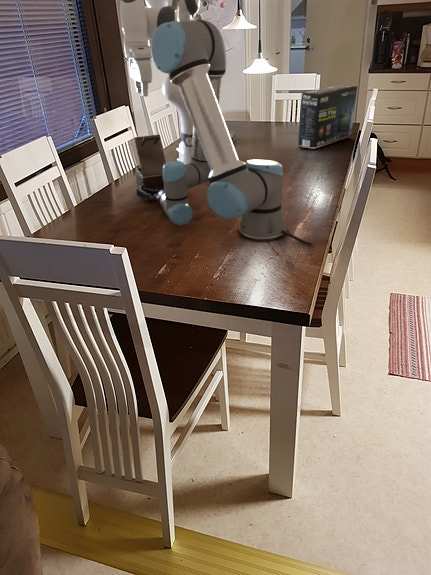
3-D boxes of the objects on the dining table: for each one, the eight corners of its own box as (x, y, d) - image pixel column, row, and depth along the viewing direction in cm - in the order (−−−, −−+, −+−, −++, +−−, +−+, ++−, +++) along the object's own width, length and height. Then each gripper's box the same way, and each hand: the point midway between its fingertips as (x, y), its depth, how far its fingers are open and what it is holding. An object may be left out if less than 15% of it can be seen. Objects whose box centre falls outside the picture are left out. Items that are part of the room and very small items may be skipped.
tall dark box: (133, 138, 172) (136, 130, 164) (159, 135, 175) (163, 127, 167) (142, 176, 173) (145, 171, 165) (167, 173, 176) (172, 167, 168)
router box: (314, 151, 231) (318, 94, 217) (296, 148, 237) (299, 92, 224) (352, 138, 251) (358, 85, 238) (335, 135, 258) (340, 83, 245)
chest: (137, 190, 189) (134, 168, 184) (160, 187, 192) (158, 164, 187) (145, 202, 178) (142, 177, 173) (170, 198, 181) (168, 174, 176)
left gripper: (122, 50, 166) (128, 91, 173) (134, 53, 149) (139, 99, 156) (140, 49, 167) (144, 90, 175) (153, 52, 151) (157, 97, 158)
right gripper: (139, 216, 159) (127, 196, 177) (200, 206, 165) (182, 187, 183) (136, 195, 155) (124, 177, 173) (199, 185, 161) (181, 169, 180)
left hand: (142, 94), depth 165 cm, fingers open, 8 cm apart
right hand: (154, 182), depth 178 cm, fingers closed on chest, 10 cm apart
